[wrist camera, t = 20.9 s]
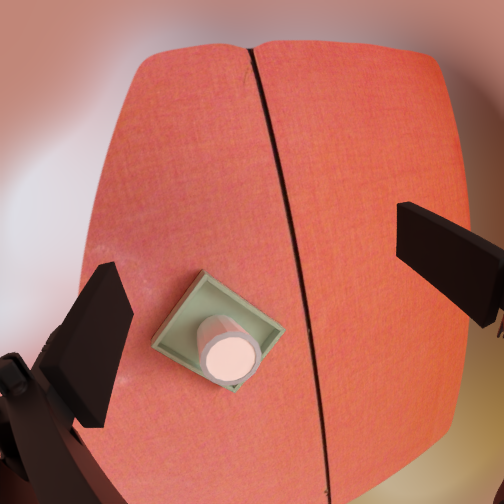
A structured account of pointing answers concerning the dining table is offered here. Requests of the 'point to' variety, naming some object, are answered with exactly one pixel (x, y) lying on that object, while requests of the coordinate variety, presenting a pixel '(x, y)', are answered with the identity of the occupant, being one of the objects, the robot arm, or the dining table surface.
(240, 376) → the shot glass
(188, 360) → the green tray
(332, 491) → the dining table surface
